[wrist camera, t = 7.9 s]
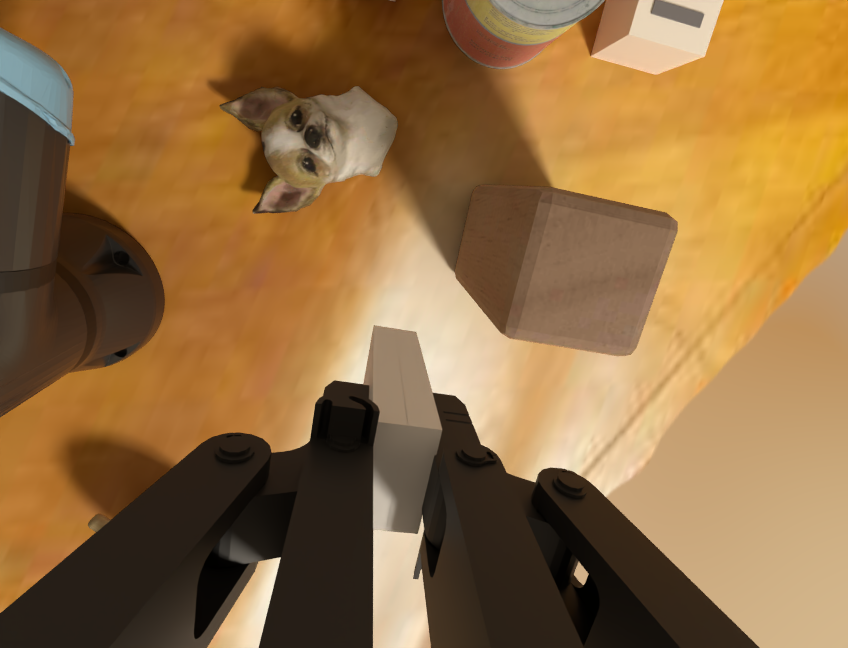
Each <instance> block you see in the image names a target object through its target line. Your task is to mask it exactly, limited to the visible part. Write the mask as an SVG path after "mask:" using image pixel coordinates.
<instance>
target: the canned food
mask: <svg viewBox="0 0 848 648" xmlns="http://www.w3.org/2000/svg"><path fill="white" fill-rule="evenodd" d="M604 1H605V0H442V9H443V15H444V19H445V23H446V26H447V28H448V31H449V33H450V35H451V37H452V39H453V40H454V42H455V43H456V45H457V46H458V47H459V49H460V50H461V51H462V52H463V53H464V54H465V55H466V56H468V57H469V58H470V59H471V60H473V61H475V62H476V63H478V64H481V65H483V66H486V67H489V68H495V69H508V68H513V67H517V66H520V65H522V64H524V63H527V62H528V61H530V60H532V59H533V58H534V57H536V56H537V55H538V54H539V53H540V52H541V51H542V50H543V49H544V48H545V47H547V46H548V45H549V44H550V43H552V42H553V41H554V40H555V39H557V38H558V37H559V36H561V35H562V34H563V33H564V32H566V31H567V30H568V29H569V28H571V27H572V26H573V25H574V24H576V23H577V22H578V21H580V20H582V19H583V18H585V17H587V16H588V15H589V14H591V13H592V12H593V11H594V10H596V9H597V8H598V7H599V6H600V5H601V4H602V3H603V2H604Z"/></svg>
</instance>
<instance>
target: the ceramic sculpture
mask: <svg viewBox="0 0 848 648" xmlns="http://www.w3.org/2000/svg"><path fill="white" fill-rule="evenodd" d="M220 108H221V109H222V110H223V111H225V112H227V113H229V114H231V115H233V116H234V117H236V118H237V119H238V120H239V121H241V122H242V123H243V124H244V125H246V126H247V127H248V128H249V129H251V130H254V131H262V146H263V151H264V154H265V157H266V159H267V162H268V163H269V165H270V167H271V168H272V170H273V172H275V173H276V174H277V175H278V176H276V177H274V178H272V179H271V180H270V181H269V182H268V183H267V184H266V187H265V189H264V191H263V193H262V196H261V198H260V201H259V202H258V204H257V205H256V206H255V208H254V209H253V210H252V211H253V213H254V214H255V213H268V212H269V213H282V212H290V211H298V210H299V209H301V208H303V207H306V206H309V205H311V204H312V203H313V202H314V201H315V200H316V198H317V197H318V196H319V195H320V193H321V190H322V189H323V187H324V186H325V185H326V184H328V183H332V182H341V181H345V180H346V179H347V178H351V177H353V176H356V175H360V174H363V175H367V176H372V177H374V176H377V175H378V174H379V172H380V170H381V168H382V163H383V161H384V158H385V156H386V154H387V152H388V150H389V149H390V147H391V145H392V143H393V141H394V138H395V135H396V130H397V127H398V121H397V118H396V117H395V116H394V115H393V114H392V113H391V112H390V111H389V110H388V109H387V108H386V107H384V106H383V105H381V104H379V103H378V102H377V101H375V100H374V99H373V98H372V97H371V96H369V95H368V94H367V93H366V92H365V91H363V90H362V89H361V88H360V87H359V86H355V87H353V88H352V89H351V90H349V91H348V92H346V93H345V94H341V95H339V96H334V95H328V96H326V95H322V94H321V95H317V96H314V97H308V98H298V97H297V96H295V95H294V94H293V93H292V92H290V91H287V90H285V89H282V88H280V87H274V88H264V87H261V88H259V89H257V90H255V91H253V92H250V93H248V94H245V95H244V96H242V97H239V98H237V99H236V100H234V101H230V102H227V103H224V104H221V105H220Z"/></svg>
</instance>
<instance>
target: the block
mask: <svg viewBox="0 0 848 648" xmlns="http://www.w3.org/2000/svg"><path fill="white" fill-rule="evenodd" d="M677 226H678V222H677V221H676V220H674V219H673V218H672V217H671V216H670V215H668V214H667V213H665V212H661V211H656V210H652V209H647V208H643V207H638V206H634V205H629V204H625V203H620V202H616V201H611V200H607V199H602V198H597V197H593V196H588V195H584V194H579V193H575V192H570V191H566V190H561V189H557V188H552V187H536V186H508V185H480V186H476V188H475V189H474V191H473V192H472V196H471V201H470V205H469V210H468V214H467V219H466V223H465V228H464V232H463V237H462V241H461V246H460V250H459V254H458V259H457V263H456V268H455V275H456V279H457V280H458V281H459V282H460V284H461V285H462V286H463V287H464V288H465V290H466V291H467V292H468V293H469V295H470V296H471V297H472V298H473V299H474V301H475V302H476V303H477V304H478V306H479V307H480V308H481V309H482V310H483V312H484V313H485V314H486V315H487V317H488V318H489V319H490V320H491V321H492V323H493V324H494V325H495V326H496V328H497V329H498V330H499V331H500V332H501V333H502V334H504V335H505V336H507V337H508V338H510V339H517V340H523V341H529V342H535V343H541V344H547V345H553V346H559V347H565V348H571V349H577V350H584V351H590V352H596V353H602V354H608V355H614V356H626V355H631V354H632V353H633V351H634V350H635V349H636V347H637V344H638V342H639V339H640V336H641V333H642V330H643V327H644V325H645V322H646V319H647V316H648V313H649V311H650V308H651V305H652V302H653V299H654V296H655V294H656V291H657V288H658V285H659V282H660V279H661V277H662V274H663V271H664V268H665V265H666V262H667V260H668V257H669V254H670V251H671V248H672V245H673V243H674V240H675V237H676V234H677Z"/></svg>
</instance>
